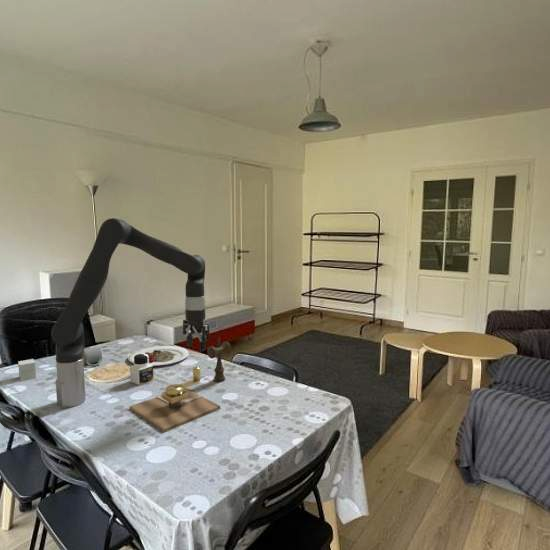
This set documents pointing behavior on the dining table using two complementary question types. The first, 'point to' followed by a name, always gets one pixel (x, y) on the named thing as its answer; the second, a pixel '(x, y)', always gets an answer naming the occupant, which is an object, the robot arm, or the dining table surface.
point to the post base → (174, 410)
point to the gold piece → (181, 388)
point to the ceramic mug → (92, 356)
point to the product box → (27, 369)
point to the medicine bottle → (141, 370)
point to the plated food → (161, 355)
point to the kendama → (219, 358)
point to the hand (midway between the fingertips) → (196, 348)
